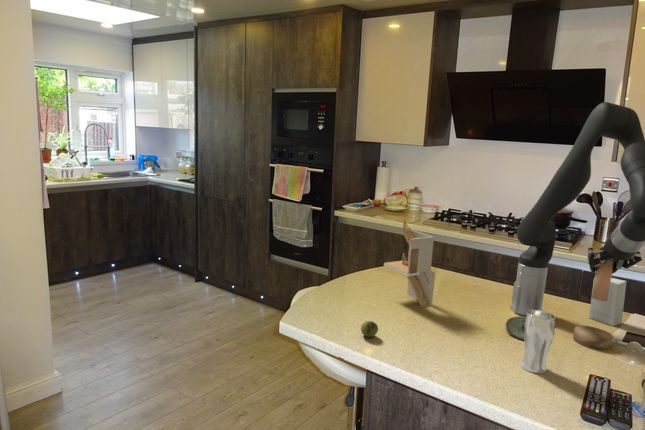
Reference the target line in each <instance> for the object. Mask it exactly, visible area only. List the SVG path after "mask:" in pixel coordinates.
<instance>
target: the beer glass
mask: <svg viewBox="0 0 645 430" xmlns="http://www.w3.org/2000/svg"><path fill="white" fill-rule="evenodd" d="M526 317H527V318H526V322H525V329H524V340H523V341H524V354H523V358H522V361H521V363H520V364H521V365H520V366H521V368H523V369H524V370H525V371H528V372H530V373H533V374H545V373H547V357H548V354H549V352H550V348H551V346H552V343H553V340H554V335H555V328H556V316H555V315H554V313H551V312H549V311H546V310H543V309H542V310H529V311H528V313H527V316H526Z"/></svg>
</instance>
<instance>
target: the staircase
mask: <svg viewBox="0 0 645 430" xmlns="http://www.w3.org/2000/svg"><path fill="white" fill-rule="evenodd" d="M406 228H407V229H406ZM401 235H402V236H404V238H405V240H406V242H407V245H408V254H407V255H408V256H407V257H406V255H405V252H403V253H402V260H398V261H397V260H396V261H389V262H388V261H387V262H384V263H383V266H384V267H386V268H388V269H390V270H393V271H396V272H397V273H399V274H401V275H403V276H406V277H407V281H408V282H407V291H406V294H407V295H408V296H409V297H412V298H414V299H416V300H417V302H418V304H419V307H421V308H426V307H432V306H433V300H434V287H435V279H436V272H434V271H432V261H433V252H434V251H433V250H434V242H435V241H434V240H435V237H434V236H431V235H428V234H425V233H424V232H419V231H416V230H414V229H411V227H409V226H408V224H407V222H406V219H403V224H402V234H401Z"/></svg>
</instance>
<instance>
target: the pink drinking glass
mask: <svg viewBox="0 0 645 430" xmlns="http://www.w3.org/2000/svg"><path fill="white" fill-rule="evenodd" d="M613 265H614V262H608V263H607V264H605V265H603V264H602V265H601V266H599V268H598V269H597V271H596V272H595V276H594V278H595V281H594V280H593V281H594V287H593V286H592V290H593V293H592V292H591V298H593V299H596V300H599V301H607V300H608V294H609V288H610V282H611V278H612V276H613V274H612V271H613Z"/></svg>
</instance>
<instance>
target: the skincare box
mask: <svg viewBox="0 0 645 430" xmlns="http://www.w3.org/2000/svg"><path fill="white" fill-rule="evenodd" d="M594 281H595V277H594V278H593V282H592V288H593V287H594ZM627 282H628V281H627V280H623V279H619V278H616V277H611V282H610V288H609V294H608V300H607V301H599V300H596V299H593V298H592V297H591V299H590V307H589V309H590V310H589V316H588V318H589V319H592V320H595V321H597V322H601V323H603V324H606V325H610V326H612V327H614V326H617V325H620V324H622V321H623V314H624V305H625V300H626V299H625V297H626V296H625V295H626V289H627ZM592 293H593V289H592V290H591V294H592Z"/></svg>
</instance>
